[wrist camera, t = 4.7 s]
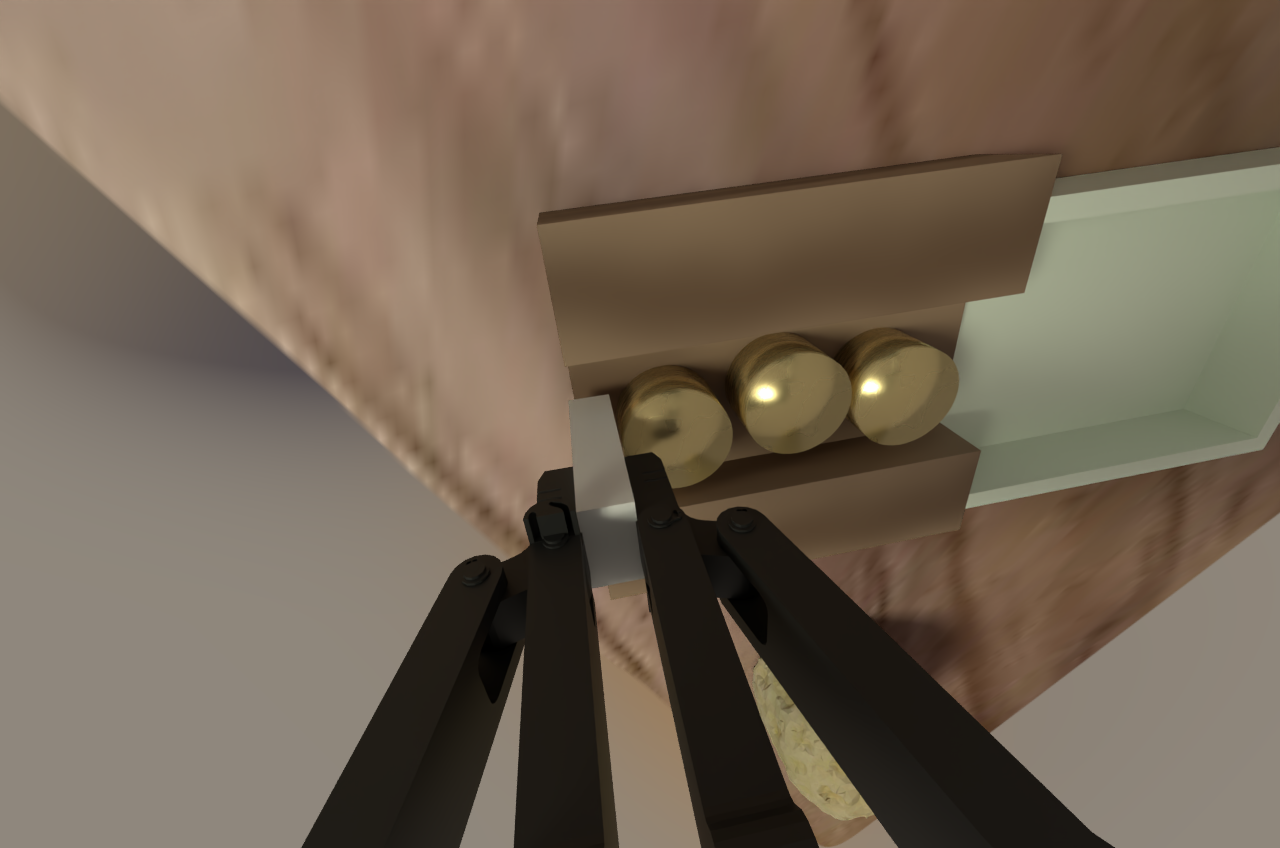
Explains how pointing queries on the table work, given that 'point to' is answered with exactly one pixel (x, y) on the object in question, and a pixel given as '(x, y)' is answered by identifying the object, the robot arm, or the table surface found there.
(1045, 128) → the table surface
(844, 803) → the decorative object
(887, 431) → the chip
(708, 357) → the slot board
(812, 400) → the chip
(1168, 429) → the tray
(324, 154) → the table surface
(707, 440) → the chip
